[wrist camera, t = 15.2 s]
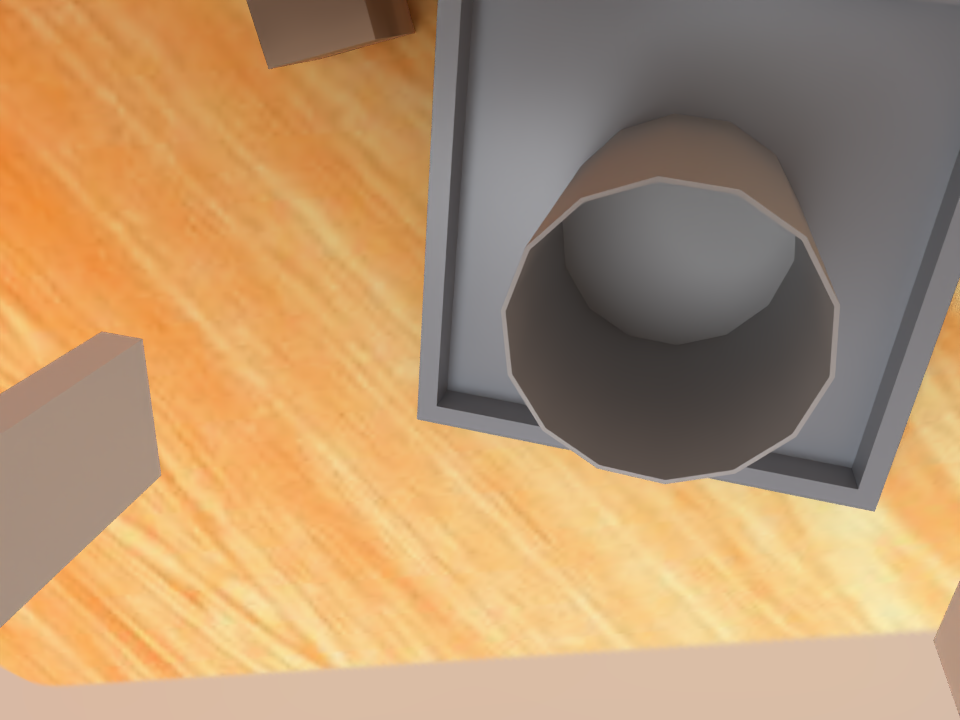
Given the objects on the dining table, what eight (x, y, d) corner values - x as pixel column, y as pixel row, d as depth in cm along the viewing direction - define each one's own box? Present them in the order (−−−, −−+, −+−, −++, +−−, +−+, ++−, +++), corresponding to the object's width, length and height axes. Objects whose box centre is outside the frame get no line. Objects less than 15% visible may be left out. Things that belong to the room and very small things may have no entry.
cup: (617, 76, 28) (573, 122, 19) (845, 168, 27) (912, 259, 18) (530, 289, 32) (462, 408, 23) (728, 373, 31) (735, 529, 22)
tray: (459, -66, 27) (441, -69, 26) (1039, -19, 24) (1067, -19, 22) (432, 396, 35) (417, 419, 34) (865, 480, 32) (874, 511, 30)
